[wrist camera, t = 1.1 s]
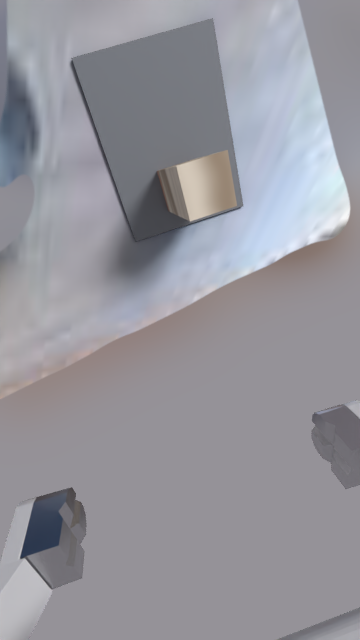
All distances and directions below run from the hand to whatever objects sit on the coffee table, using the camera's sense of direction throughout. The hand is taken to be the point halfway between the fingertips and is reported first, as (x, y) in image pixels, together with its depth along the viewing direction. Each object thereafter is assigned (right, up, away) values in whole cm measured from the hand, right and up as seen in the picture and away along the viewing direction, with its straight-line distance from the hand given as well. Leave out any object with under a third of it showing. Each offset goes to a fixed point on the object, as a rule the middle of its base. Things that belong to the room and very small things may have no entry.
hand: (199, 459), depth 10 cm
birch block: (-1, +22, +29) cm, 36 cm away
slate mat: (-2, +27, +27) cm, 38 cm away
